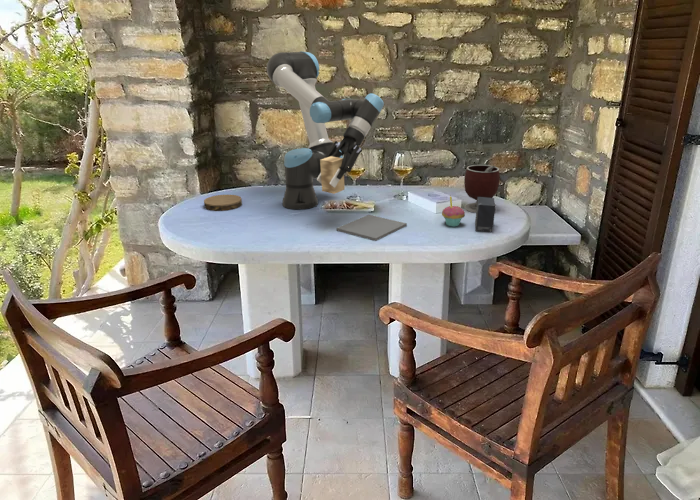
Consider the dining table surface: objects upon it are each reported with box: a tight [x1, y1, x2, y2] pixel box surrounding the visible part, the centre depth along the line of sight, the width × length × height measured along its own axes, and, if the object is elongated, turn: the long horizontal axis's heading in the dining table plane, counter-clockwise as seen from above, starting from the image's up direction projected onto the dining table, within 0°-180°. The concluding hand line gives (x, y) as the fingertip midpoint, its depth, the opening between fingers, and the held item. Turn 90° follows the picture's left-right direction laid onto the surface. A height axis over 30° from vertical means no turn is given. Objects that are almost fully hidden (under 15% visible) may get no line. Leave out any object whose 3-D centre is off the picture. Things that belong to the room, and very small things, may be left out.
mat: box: [336, 214, 408, 242], centre depth 194 cm, size 18×20×1 cm
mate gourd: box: [463, 164, 501, 214], centre depth 211 cm, size 16×14×20 cm
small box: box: [474, 197, 496, 233], centre depth 192 cm, size 11×6×10 cm, turn 168°
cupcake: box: [441, 194, 466, 227], centre depth 195 cm, size 9×8×12 cm
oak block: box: [320, 156, 346, 195], centre depth 192 cm, size 6×6×12 cm
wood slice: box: [203, 194, 243, 212], centre depth 223 cm, size 16×16×3 cm
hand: (325, 183), depth 191 cm, fingers closed on oak block, 7 cm apart
